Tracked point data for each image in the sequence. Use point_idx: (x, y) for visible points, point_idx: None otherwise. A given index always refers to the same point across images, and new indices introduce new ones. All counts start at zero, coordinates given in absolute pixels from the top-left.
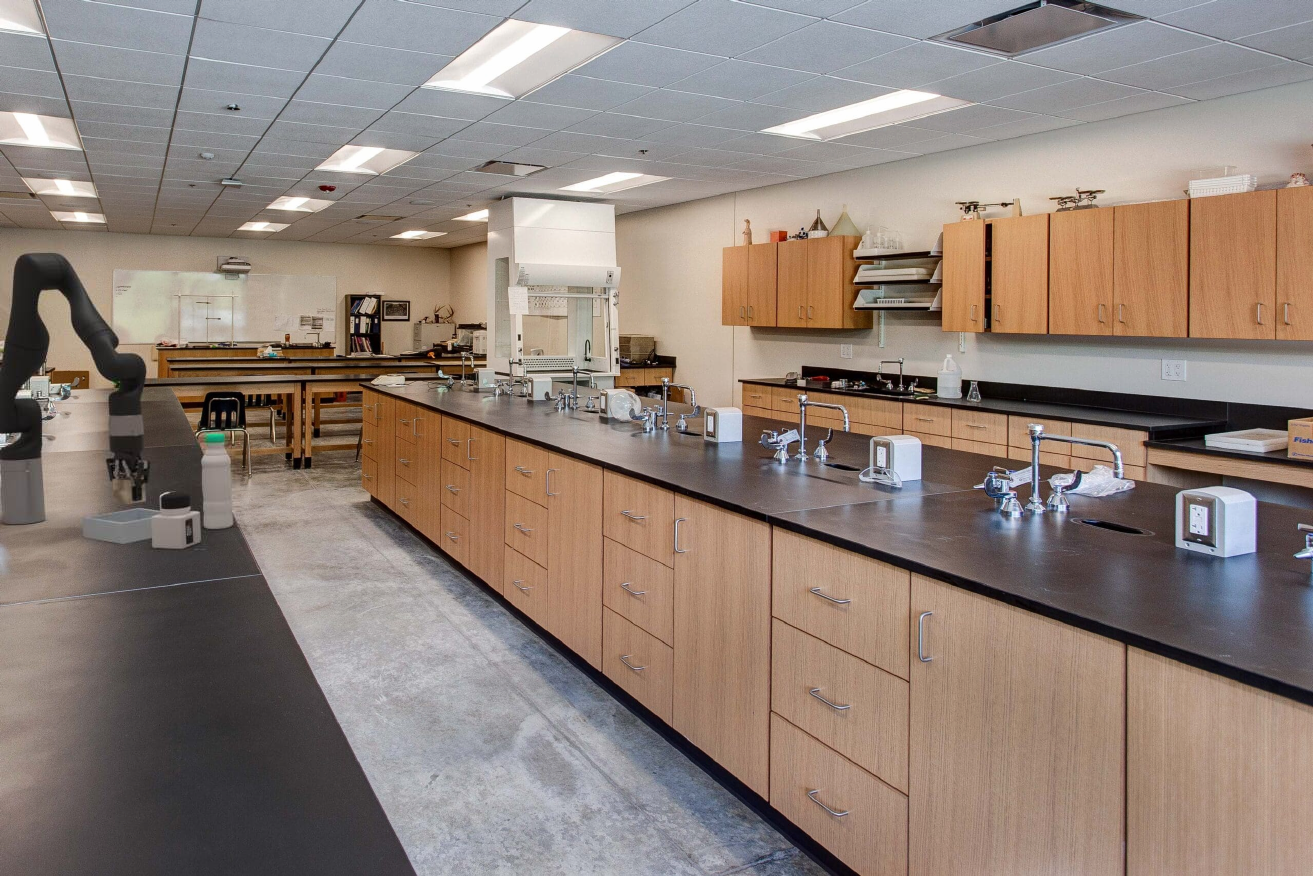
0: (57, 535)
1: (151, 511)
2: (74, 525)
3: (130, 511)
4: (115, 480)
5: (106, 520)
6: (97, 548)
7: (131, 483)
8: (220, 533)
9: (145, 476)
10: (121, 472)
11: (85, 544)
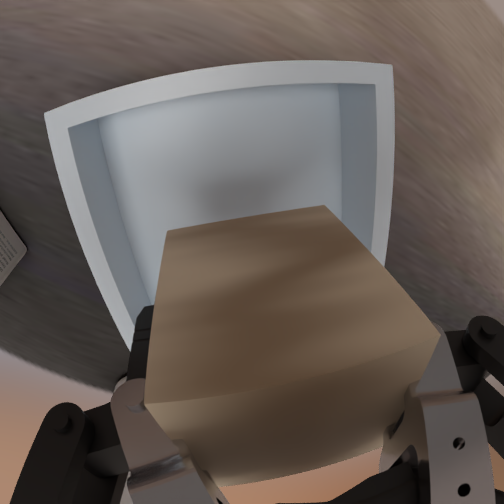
0: (440, 58)
1: None
2: (496, 176)
3: None
4: (384, 343)
5: (209, 86)
6: (91, 13)
7: None
8: (65, 362)
9: (91, 497)
10: (395, 470)
11: (206, 4)
